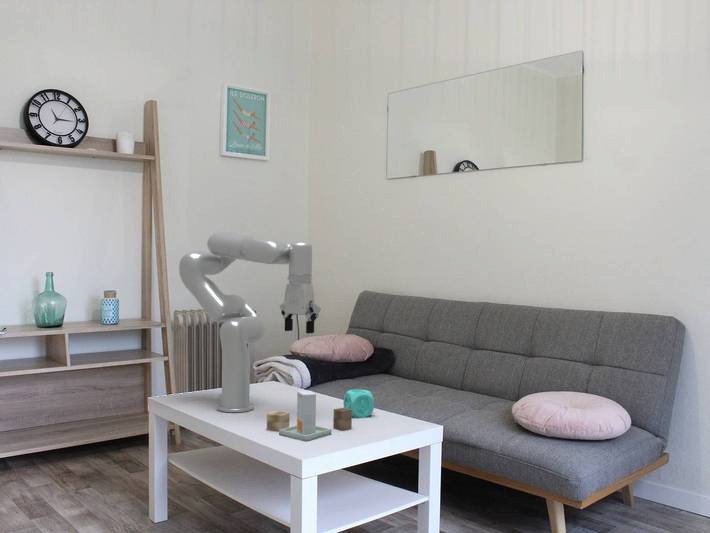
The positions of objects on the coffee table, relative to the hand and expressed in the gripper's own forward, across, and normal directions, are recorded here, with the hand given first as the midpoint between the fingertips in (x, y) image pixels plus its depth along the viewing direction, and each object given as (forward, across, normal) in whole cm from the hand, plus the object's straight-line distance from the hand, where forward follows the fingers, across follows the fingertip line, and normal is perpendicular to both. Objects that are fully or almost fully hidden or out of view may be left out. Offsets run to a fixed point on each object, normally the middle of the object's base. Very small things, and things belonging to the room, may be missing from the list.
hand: (299, 332), depth 221 cm
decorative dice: (+29, +12, +17) cm, 35 cm away
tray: (+28, +16, -14) cm, 36 cm away
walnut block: (+28, +20, -1) cm, 35 cm away
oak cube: (+28, +6, -15) cm, 33 cm away
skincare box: (+28, +17, -14) cm, 35 cm away
